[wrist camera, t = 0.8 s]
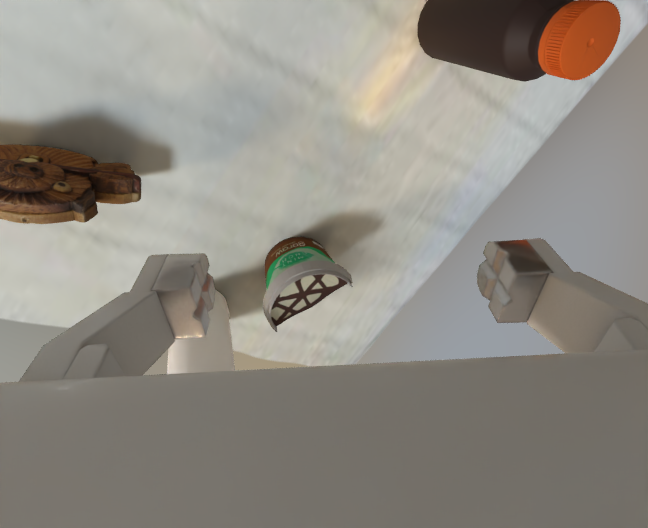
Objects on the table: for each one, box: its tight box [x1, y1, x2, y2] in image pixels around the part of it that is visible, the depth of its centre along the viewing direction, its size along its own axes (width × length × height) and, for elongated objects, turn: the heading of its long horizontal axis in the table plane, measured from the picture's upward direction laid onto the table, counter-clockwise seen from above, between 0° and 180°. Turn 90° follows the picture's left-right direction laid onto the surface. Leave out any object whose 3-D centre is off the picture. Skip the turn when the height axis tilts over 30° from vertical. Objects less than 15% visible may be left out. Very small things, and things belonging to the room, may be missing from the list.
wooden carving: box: [0, 144, 141, 224], centre depth 36 cm, size 16×5×10 cm, turn 80°
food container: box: [263, 237, 352, 332], centre depth 50 cm, size 12×6×10 cm, turn 117°
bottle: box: [167, 290, 235, 374], centre depth 44 cm, size 8×8×30 cm
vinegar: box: [418, 0, 621, 81], centre depth 35 cm, size 7×7×20 cm
